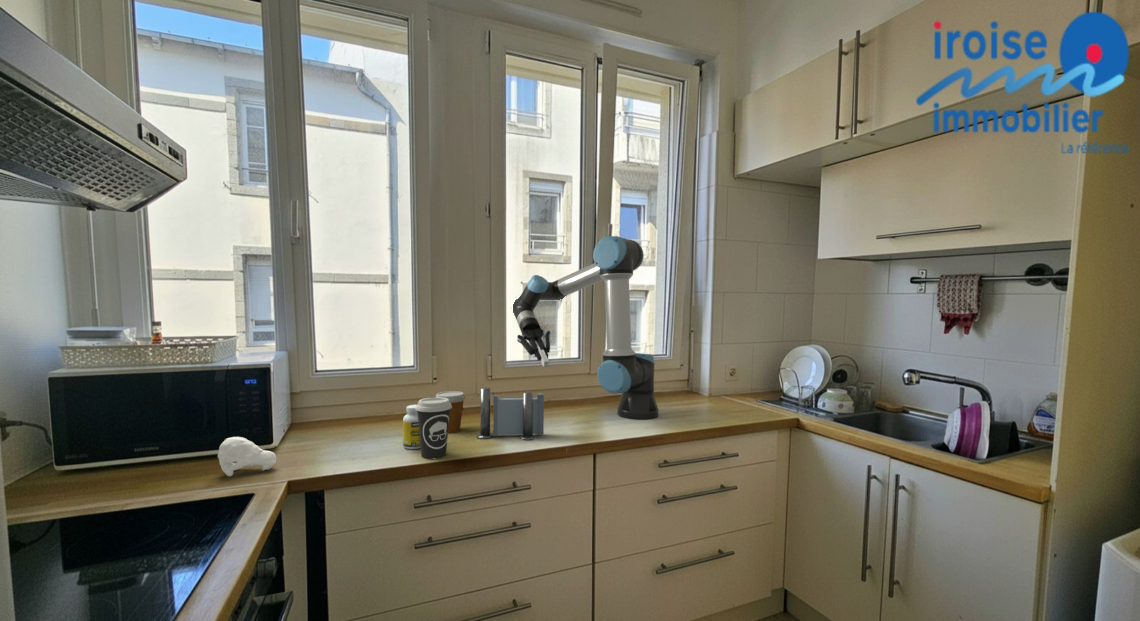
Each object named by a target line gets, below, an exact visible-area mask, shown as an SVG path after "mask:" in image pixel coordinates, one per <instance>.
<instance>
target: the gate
mask: <svg viewBox="0 0 1140 621" xmlns="http://www.w3.org/2000/svg"><path fill="white" fill-rule="evenodd" d="M492 399H493V402H492V403H493V404H492V405H493V406H492V408H493V409H492V412H493V414H492V415H493V416H492V417H493V418H492V419H493V420H492V421H493V426H492V427H493V432H492V433H493V435H494V436H515V435H517V436H521V435H523V397H515V398H513V397H509V398H507V397H505V398H504V397H503V398H502V397H501V398H499V396H498V394H494V395H493V398H492ZM544 400H545V396H544V393H543V392H540V393H539V392H538V393H536V397H533V435H544V430H545V429H544V428H545V426H544V421H545V420H544V419H545V418H544V416H545V414H544V413H545V412H544V410H545V409H544V408H545V406H544V404H545V403H544V402H545V401H544Z"/></svg>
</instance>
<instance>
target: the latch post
mask: <svg viewBox="0 0 1140 621" xmlns="http://www.w3.org/2000/svg"><path fill="white" fill-rule="evenodd" d="M533 395H534V392H533V391H524V392H522V398H523V435H519V439H520V440H521V439H522V440H523V441H532V440H535V439H536V437H537V436H536V434H533V398H534V396H533ZM522 440H521V441H522Z"/></svg>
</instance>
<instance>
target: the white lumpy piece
mask: <svg viewBox="0 0 1140 621" xmlns="http://www.w3.org/2000/svg"><path fill="white" fill-rule="evenodd" d="M217 459H218V461H219V466H220V468H221V470H222V471H223V472H224V474H225V475H226V476H227V477H232V476H233V475H234V471H237V470H238V471H239V470H240V469H243V468H244V467H251V466H260V467H261V472H263V471H265V470H270V469H271V468H272V467H273V465H275V463H276V462H277V455H276V454H275V453H274V452H273V451H270V450H265V449H262V448H260V447H259V445H256V444H255V443H254V442H253V441H251V440H248V439H247V438H245V437H243V436H242V437H241V436H232V437H228V438H225V439H224V441H222V443H221V444H220V445H219V448H218V453H217Z"/></svg>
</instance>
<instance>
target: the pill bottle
mask: <svg viewBox="0 0 1140 621" xmlns="http://www.w3.org/2000/svg"><path fill="white" fill-rule="evenodd" d="M416 406H417V404H410V405H407V406H406V408H405V409H406V415H404V416H403V417H402V418H403V420H402V446H403V448H405V449H407V450H416V449H417V450H418V449H421V446H420V434H419V423H418V413H417V410H416Z"/></svg>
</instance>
